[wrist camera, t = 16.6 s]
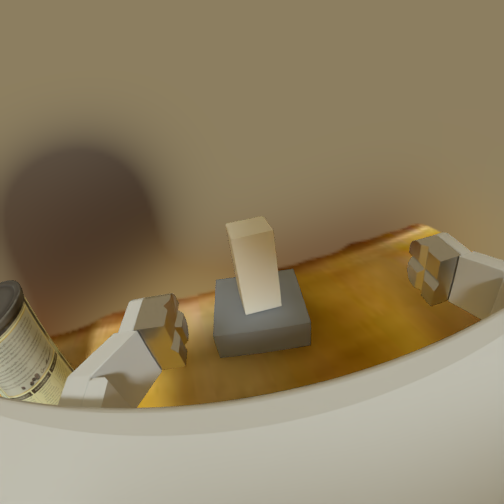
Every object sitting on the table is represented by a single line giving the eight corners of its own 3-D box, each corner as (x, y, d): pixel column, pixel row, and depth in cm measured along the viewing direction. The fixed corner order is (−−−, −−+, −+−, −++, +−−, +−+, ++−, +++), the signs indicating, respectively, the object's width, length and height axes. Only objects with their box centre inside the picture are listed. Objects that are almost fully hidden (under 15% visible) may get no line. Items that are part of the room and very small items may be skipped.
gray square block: (294, 292, 39) (293, 268, 37) (310, 347, 30) (311, 322, 28) (221, 303, 39) (216, 279, 37) (221, 360, 30) (213, 336, 28)
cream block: (271, 286, 34) (262, 215, 30) (281, 305, 31) (273, 230, 26) (239, 294, 34) (225, 223, 29) (245, 314, 30) (230, 239, 26)
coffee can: (15, 424, 20) (-58, 342, 13) (37, 366, 29) (-17, 285, 22) (73, 436, 21) (-13, 345, 14) (91, 366, 30) (35, 273, 22)
